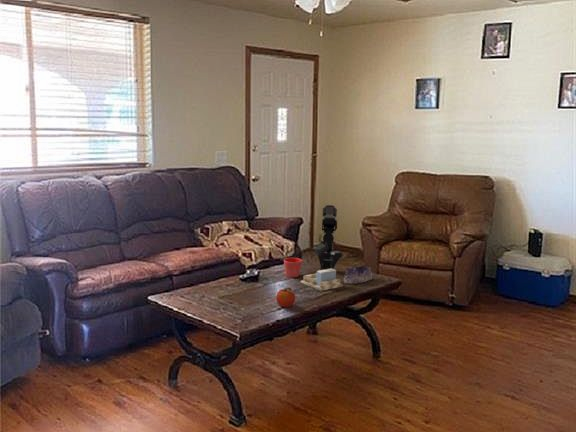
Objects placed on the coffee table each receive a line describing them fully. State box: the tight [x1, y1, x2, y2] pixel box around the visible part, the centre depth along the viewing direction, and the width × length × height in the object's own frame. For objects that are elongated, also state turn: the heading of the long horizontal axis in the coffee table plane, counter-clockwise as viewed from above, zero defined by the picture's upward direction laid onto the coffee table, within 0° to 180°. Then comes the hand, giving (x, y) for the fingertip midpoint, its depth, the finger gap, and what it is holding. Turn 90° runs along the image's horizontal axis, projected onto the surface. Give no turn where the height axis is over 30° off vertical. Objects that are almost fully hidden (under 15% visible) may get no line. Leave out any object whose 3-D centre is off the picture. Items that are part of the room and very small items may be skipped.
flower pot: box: [283, 257, 303, 278], centre depth 349 cm, size 11×11×10 cm
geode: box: [343, 265, 373, 285], centre depth 344 cm, size 20×12×10 cm, turn 138°
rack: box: [300, 272, 344, 292], centre depth 335 cm, size 16×18×4 cm
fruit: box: [275, 287, 296, 308], centre depth 295 cm, size 10×10×10 cm
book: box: [315, 268, 337, 286], centre depth 332 cm, size 11×4×8 cm, turn 127°
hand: (326, 267), depth 330 cm, fingers open, 9 cm apart
